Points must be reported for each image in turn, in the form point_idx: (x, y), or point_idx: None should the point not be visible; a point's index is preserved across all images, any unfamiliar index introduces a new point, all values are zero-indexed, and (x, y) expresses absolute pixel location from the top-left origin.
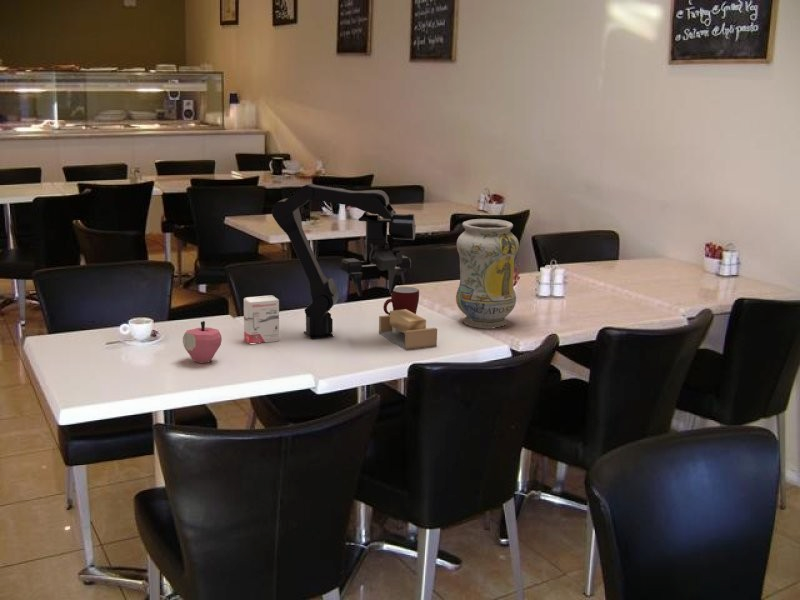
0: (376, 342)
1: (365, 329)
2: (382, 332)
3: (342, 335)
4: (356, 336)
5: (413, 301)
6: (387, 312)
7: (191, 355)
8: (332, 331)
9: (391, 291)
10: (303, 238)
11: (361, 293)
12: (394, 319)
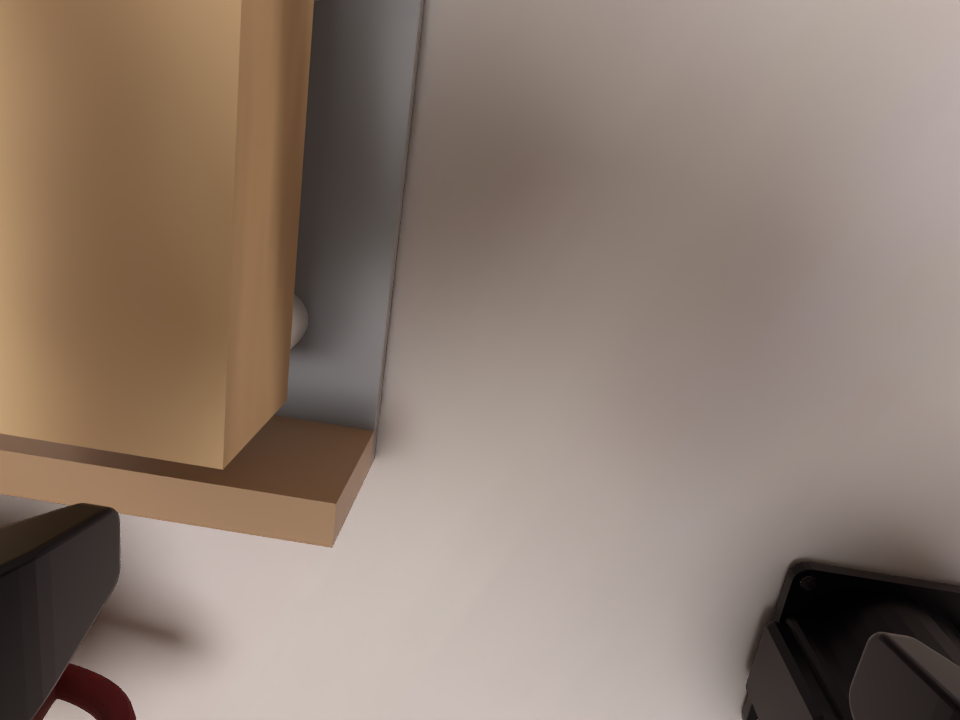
0: (557, 229)
1: (414, 605)
2: (362, 419)
3: (688, 563)
4: (602, 481)
5: None
6: (119, 704)
7: None
8: (769, 629)
9: (77, 522)
10: None
11: (924, 669)
12: (260, 310)
